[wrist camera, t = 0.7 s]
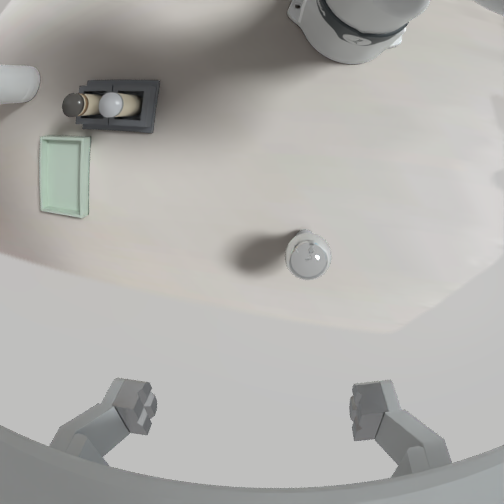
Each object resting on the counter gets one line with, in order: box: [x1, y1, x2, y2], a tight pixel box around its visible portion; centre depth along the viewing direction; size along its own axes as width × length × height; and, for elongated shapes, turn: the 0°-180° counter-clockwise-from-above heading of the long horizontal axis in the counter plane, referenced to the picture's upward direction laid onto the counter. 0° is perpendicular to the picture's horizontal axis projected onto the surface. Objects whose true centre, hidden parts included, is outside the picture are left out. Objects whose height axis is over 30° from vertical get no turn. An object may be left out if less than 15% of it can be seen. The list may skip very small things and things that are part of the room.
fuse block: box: [76, 80, 160, 133], centre depth 46 cm, size 9×14×4 cm, turn 81°
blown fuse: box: [62, 93, 103, 117], centre depth 42 cm, size 4×4×9 cm
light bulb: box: [285, 229, 332, 280], centre depth 49 cm, size 7×7×12 cm
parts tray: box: [40, 135, 91, 218], centre depth 52 cm, size 15×11×2 cm
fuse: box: [99, 92, 143, 117], centre depth 42 cm, size 4×4×9 cm
